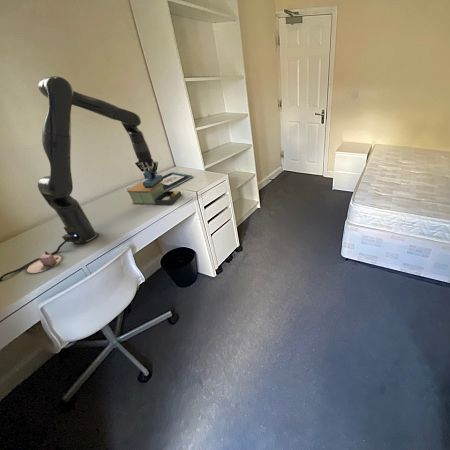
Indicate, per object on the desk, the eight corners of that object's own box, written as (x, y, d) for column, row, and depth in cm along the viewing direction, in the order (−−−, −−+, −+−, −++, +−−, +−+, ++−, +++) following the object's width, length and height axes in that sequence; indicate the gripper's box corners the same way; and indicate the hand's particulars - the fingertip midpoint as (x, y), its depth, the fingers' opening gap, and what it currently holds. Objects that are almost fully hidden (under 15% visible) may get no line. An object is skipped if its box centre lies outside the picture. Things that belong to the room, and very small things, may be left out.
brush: (156, 180, 165) (151, 167, 160) (163, 180, 164) (159, 167, 159) (144, 188, 154) (139, 174, 150) (152, 188, 154) (147, 174, 149)
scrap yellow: (175, 194, 164) (173, 192, 164) (173, 197, 166) (170, 195, 165) (178, 191, 168) (176, 189, 167) (176, 195, 169) (173, 193, 168)
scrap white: (161, 199, 160) (162, 202, 161) (166, 199, 159) (167, 202, 160) (165, 196, 163) (166, 199, 164) (170, 196, 163) (171, 199, 164)
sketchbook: (139, 189, 180) (138, 186, 179) (172, 173, 203) (172, 171, 202) (162, 193, 173) (161, 190, 172) (193, 177, 196) (193, 174, 195)
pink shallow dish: (68, 255, 119) (62, 248, 117) (45, 273, 109) (38, 266, 107) (44, 255, 120) (38, 247, 118) (19, 273, 110) (12, 265, 108)
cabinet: (155, 204, 159) (150, 191, 154) (131, 204, 161) (126, 191, 156) (166, 195, 171) (162, 182, 165) (144, 194, 172) (139, 182, 167)
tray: (171, 204, 159) (169, 200, 157) (155, 204, 160) (154, 200, 158) (181, 195, 170) (180, 191, 168) (167, 195, 171) (165, 191, 169)
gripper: (126, 151, 145) (137, 180, 155) (149, 151, 144) (159, 180, 153) (134, 147, 151) (145, 175, 161) (156, 147, 150) (165, 175, 159)
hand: (151, 177), depth 157 cm, fingers closed on brush, 2 cm apart
